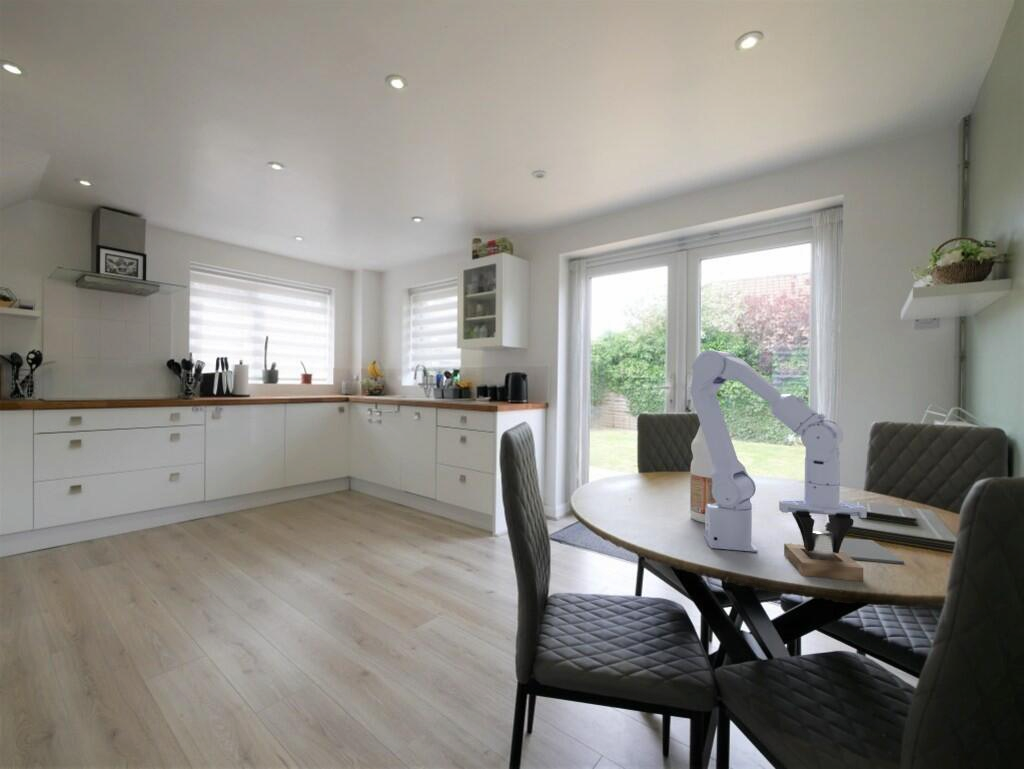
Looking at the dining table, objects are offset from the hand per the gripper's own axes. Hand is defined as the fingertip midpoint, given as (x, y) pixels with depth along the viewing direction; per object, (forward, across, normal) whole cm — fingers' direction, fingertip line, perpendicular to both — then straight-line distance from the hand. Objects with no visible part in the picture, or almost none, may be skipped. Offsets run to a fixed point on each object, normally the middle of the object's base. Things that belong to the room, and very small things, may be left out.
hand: (821, 550), depth 89 cm
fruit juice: (+4, -16, +27) cm, 32 cm away
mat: (+3, +11, +12) cm, 17 cm away
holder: (+3, 0, 0) cm, 3 cm away
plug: (+3, 0, 0) cm, 3 cm away
